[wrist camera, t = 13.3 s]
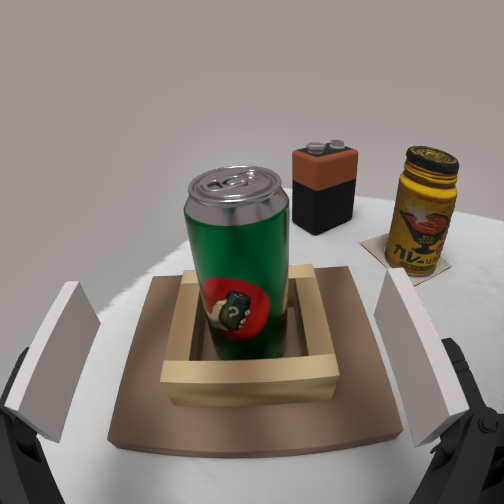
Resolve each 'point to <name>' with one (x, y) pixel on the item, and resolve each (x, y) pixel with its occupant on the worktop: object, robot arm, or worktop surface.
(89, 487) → the worktop surface
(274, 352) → the soda can
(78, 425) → the worktop surface
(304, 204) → the battery
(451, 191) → the condiment
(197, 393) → the collar board
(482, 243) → the worktop surface
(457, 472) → the robot arm
